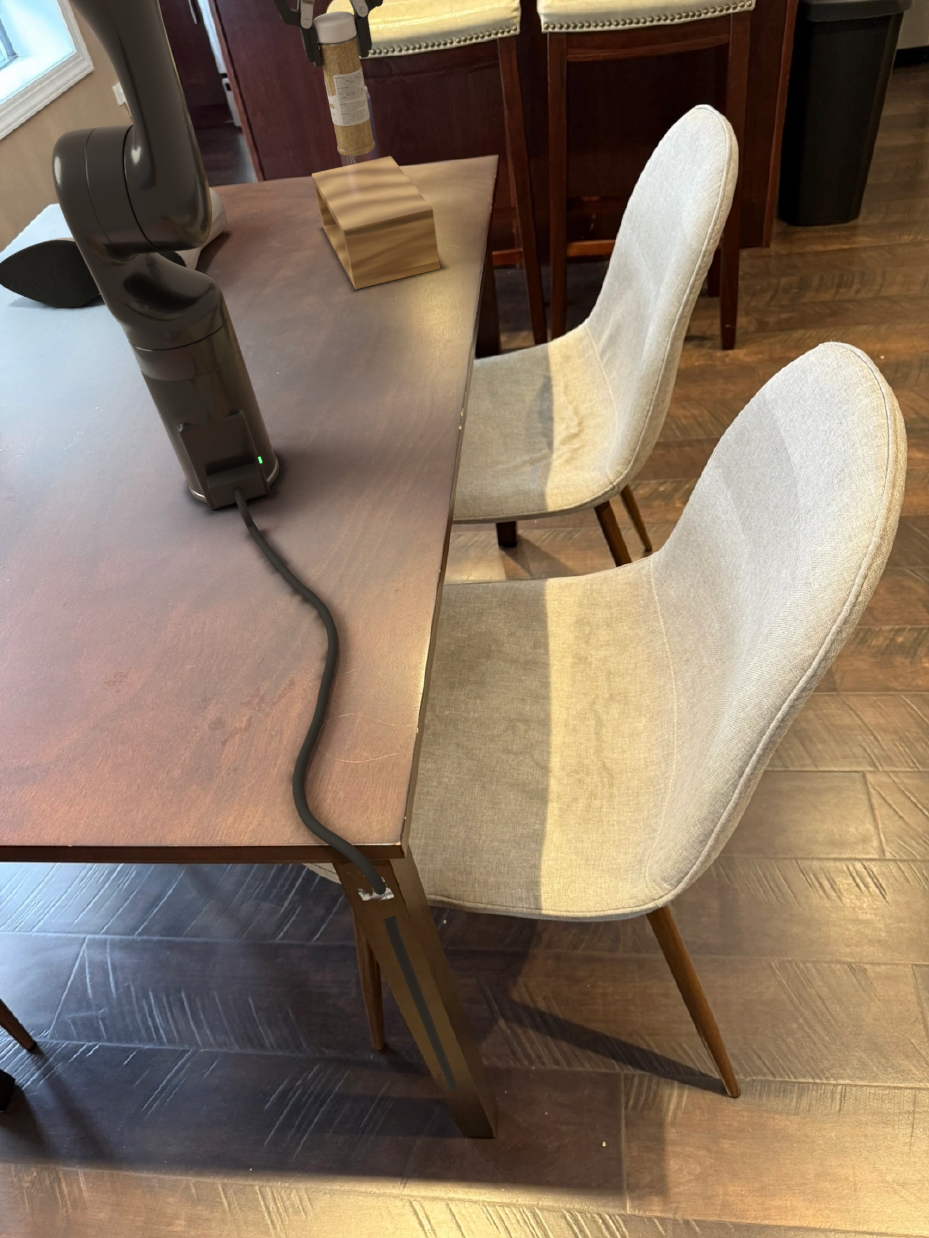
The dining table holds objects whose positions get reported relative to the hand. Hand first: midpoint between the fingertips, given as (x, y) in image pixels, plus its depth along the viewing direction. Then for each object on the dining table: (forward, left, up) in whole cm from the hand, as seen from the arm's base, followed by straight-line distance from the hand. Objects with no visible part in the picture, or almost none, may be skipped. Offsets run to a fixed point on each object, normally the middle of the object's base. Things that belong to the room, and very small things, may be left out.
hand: (340, 60), depth 95 cm
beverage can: (+34, -6, -27) cm, 44 cm away
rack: (+14, -3, -27) cm, 30 cm away
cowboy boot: (+27, +32, -27) cm, 50 cm away
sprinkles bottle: (0, 0, -10) cm, 10 cm away
